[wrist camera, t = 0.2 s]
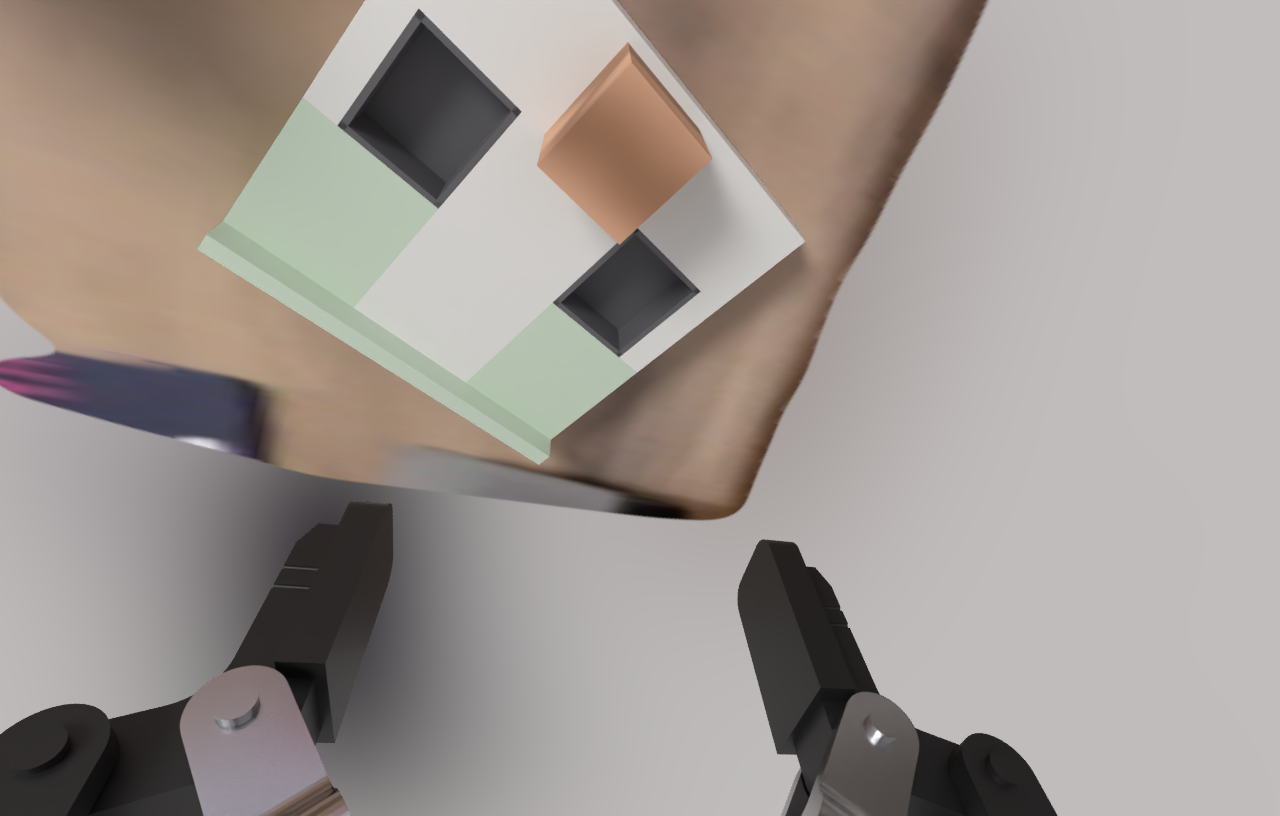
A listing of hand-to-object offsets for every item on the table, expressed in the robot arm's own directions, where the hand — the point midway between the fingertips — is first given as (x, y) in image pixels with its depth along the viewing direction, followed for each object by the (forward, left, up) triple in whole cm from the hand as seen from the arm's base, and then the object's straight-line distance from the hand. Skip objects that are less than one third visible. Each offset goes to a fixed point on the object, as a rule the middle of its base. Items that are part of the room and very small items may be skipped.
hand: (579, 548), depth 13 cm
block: (-3, -1, -19) cm, 20 cm away
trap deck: (+4, -1, -22) cm, 22 cm away
